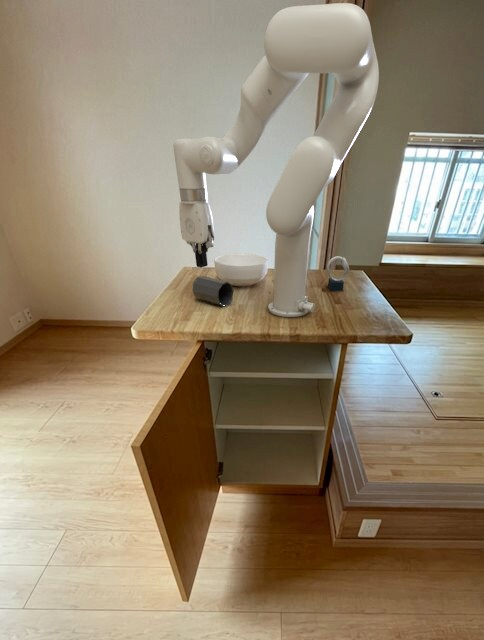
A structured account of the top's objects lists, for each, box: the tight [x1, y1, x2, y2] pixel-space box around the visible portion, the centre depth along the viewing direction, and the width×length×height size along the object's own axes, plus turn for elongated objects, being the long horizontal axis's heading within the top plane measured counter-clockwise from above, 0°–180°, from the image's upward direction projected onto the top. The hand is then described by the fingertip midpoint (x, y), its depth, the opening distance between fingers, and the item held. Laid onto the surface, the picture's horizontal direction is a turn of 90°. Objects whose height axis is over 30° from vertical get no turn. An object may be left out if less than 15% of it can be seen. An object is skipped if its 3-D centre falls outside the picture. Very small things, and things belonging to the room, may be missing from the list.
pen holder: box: [192, 275, 234, 308], centre depth 100 cm, size 7×8×11 cm
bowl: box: [213, 252, 269, 287], centre depth 117 cm, size 20×20×8 cm
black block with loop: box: [326, 255, 351, 292], centre depth 112 cm, size 6×8×11 cm
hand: (202, 266), depth 97 cm, fingers closed
